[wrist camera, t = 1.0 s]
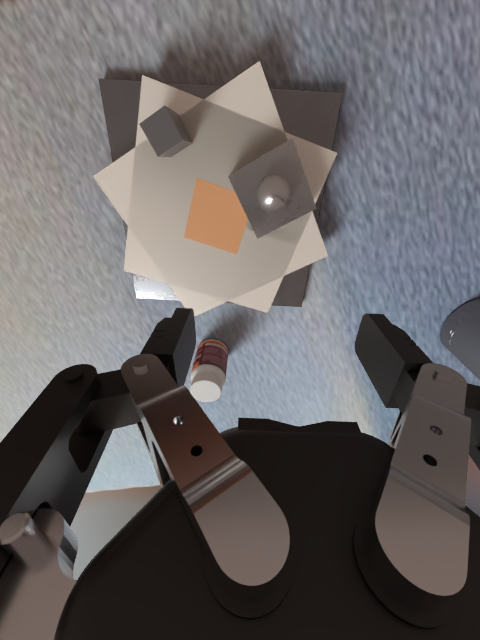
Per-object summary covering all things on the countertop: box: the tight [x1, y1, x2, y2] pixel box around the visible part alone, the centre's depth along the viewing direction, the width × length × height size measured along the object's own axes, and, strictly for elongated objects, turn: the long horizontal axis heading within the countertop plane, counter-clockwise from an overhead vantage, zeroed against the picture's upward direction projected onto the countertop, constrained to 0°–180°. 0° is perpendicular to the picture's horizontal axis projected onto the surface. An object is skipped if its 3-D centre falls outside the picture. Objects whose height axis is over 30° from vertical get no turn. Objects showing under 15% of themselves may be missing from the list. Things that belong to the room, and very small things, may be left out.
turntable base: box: [99, 79, 343, 307], centre depth 30 cm, size 22×22×1 cm
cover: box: [228, 138, 317, 239], centre depth 24 cm, size 6×6×4 cm
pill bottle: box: [190, 339, 228, 402], centre depth 37 cm, size 5×5×8 cm
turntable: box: [93, 61, 337, 316], centre depth 27 cm, size 26×26×6 cm
